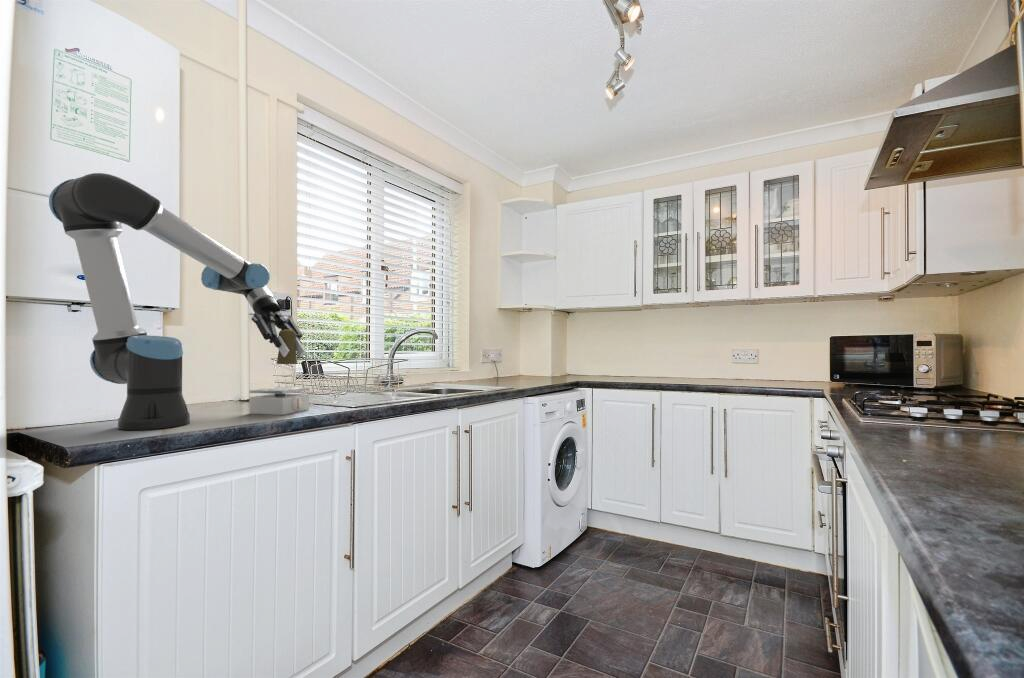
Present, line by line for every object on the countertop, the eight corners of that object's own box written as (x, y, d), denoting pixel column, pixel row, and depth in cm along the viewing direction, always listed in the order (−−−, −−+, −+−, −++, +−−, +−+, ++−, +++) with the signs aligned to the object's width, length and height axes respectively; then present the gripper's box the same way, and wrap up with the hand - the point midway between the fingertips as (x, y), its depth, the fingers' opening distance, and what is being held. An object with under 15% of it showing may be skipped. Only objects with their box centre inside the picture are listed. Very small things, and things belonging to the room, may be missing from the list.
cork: (300, 363, 159) (301, 330, 159) (290, 364, 153) (291, 329, 153) (283, 363, 159) (284, 330, 160) (272, 364, 153) (273, 329, 153)
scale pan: (282, 393, 145) (282, 391, 145) (249, 393, 148) (249, 390, 148) (309, 390, 157) (309, 387, 157) (277, 389, 160) (277, 386, 160)
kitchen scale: (284, 414, 145) (284, 394, 145) (249, 413, 148) (249, 393, 148) (311, 409, 157) (311, 390, 157) (277, 408, 160) (277, 390, 160)
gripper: (283, 314, 172) (313, 361, 163) (231, 310, 156) (262, 362, 147) (293, 298, 169) (324, 345, 161) (242, 292, 154) (273, 344, 145)
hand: (294, 353), depth 154 cm, fingers closed on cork, 5 cm apart
